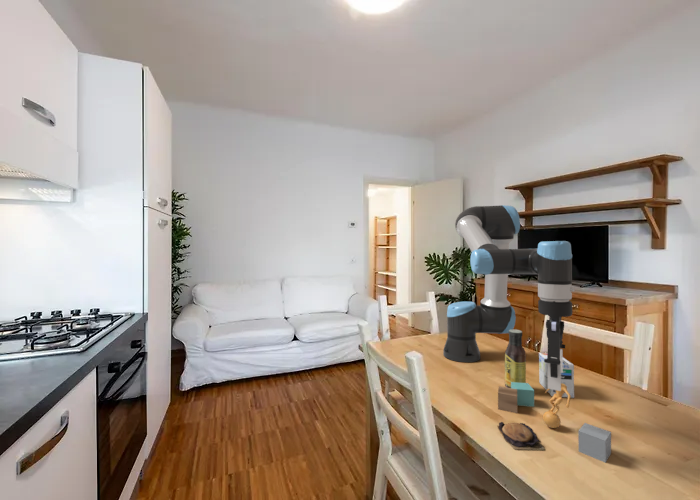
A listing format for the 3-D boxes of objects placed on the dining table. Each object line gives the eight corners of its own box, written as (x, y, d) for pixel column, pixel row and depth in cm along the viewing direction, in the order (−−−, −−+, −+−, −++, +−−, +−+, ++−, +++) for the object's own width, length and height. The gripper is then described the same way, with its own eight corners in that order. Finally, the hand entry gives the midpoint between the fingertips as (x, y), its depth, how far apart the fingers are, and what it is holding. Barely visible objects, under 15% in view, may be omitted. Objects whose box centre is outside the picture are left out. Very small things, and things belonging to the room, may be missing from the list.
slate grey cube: (584, 443, 77) (584, 422, 77) (611, 453, 73) (610, 432, 73) (578, 451, 74) (578, 430, 74) (605, 463, 70) (605, 440, 70)
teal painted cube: (511, 397, 100) (511, 382, 100) (528, 399, 99) (528, 383, 99) (516, 405, 95) (515, 389, 95) (534, 407, 94) (534, 390, 94)
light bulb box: (575, 398, 99) (574, 364, 98) (551, 397, 100) (551, 363, 100) (559, 384, 109) (559, 353, 109) (538, 382, 110) (538, 352, 110)
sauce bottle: (503, 384, 109) (503, 327, 109) (524, 386, 107) (523, 328, 107) (506, 392, 103) (505, 332, 103) (527, 395, 101) (527, 333, 101)
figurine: (534, 418, 88) (534, 375, 87) (554, 417, 88) (554, 375, 88) (555, 436, 79) (555, 389, 79) (578, 435, 80) (578, 388, 79)
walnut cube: (498, 402, 97) (498, 386, 97) (517, 405, 95) (517, 389, 95) (498, 409, 93) (498, 392, 93) (517, 413, 90) (517, 396, 90)
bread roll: (548, 453, 74) (548, 438, 74) (511, 452, 74) (511, 437, 74) (526, 427, 84) (526, 413, 84) (493, 426, 85) (493, 412, 85)
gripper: (571, 308, 71) (572, 402, 71) (572, 294, 91) (573, 368, 91) (533, 305, 75) (534, 394, 75) (542, 293, 95) (543, 362, 95)
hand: (555, 380), depth 83 cm, fingers open, 13 cm apart
